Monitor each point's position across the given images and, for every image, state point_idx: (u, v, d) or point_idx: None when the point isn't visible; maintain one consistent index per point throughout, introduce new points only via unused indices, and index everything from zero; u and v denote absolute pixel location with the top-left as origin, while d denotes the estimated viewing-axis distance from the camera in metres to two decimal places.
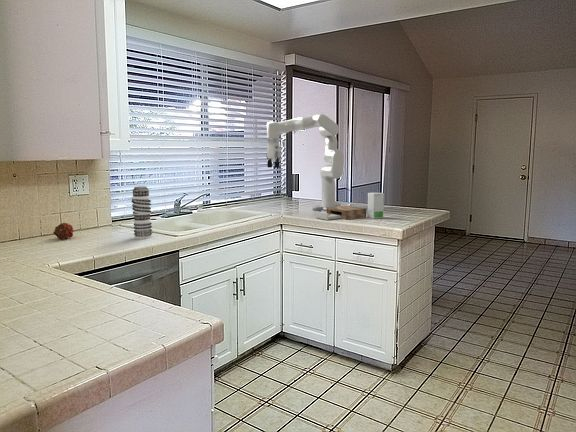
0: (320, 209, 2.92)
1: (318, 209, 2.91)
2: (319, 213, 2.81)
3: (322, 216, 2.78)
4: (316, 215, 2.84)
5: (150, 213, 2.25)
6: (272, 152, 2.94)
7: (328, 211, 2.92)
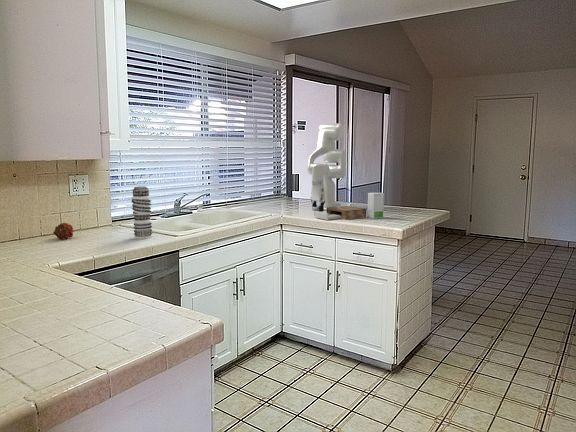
0: None
1: (318, 209, 2.91)
2: (319, 213, 2.81)
3: (322, 216, 2.78)
4: (316, 215, 2.84)
5: (150, 213, 2.25)
6: (317, 195, 2.90)
7: (328, 211, 2.92)
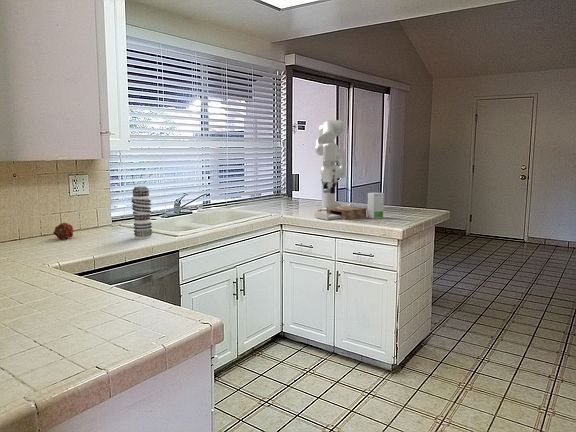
0: None
1: (329, 190, 2.77)
2: (319, 213, 2.81)
3: (322, 216, 2.78)
4: (316, 215, 2.84)
5: (150, 213, 2.25)
6: (329, 176, 2.75)
7: (328, 211, 2.92)
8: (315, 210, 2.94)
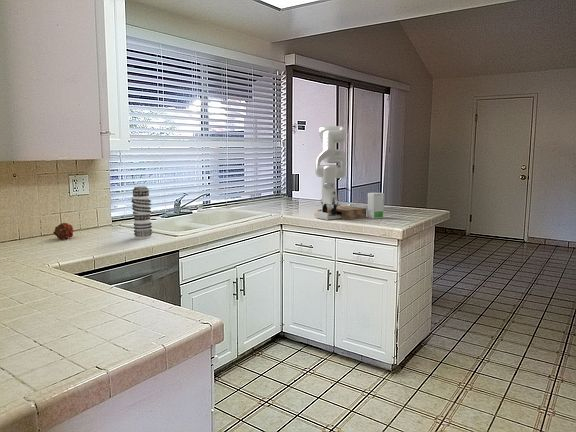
0: (332, 215, 2.80)
1: (329, 215, 2.79)
2: (319, 213, 2.81)
3: (322, 216, 2.78)
4: (316, 215, 2.84)
5: (150, 213, 2.25)
6: (329, 198, 2.77)
7: (328, 211, 2.92)
8: (315, 210, 2.94)
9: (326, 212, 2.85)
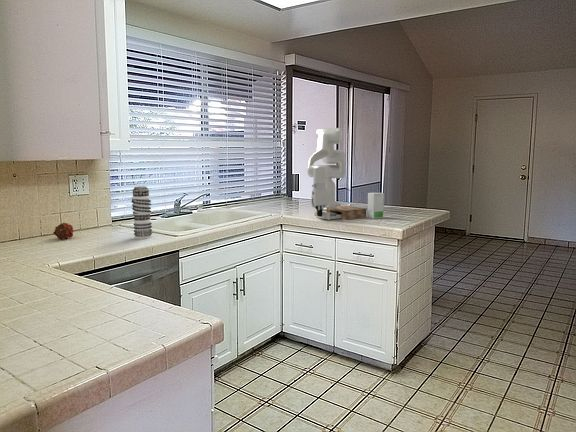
0: (333, 215, 2.80)
1: (331, 215, 2.80)
2: None
3: (324, 216, 2.79)
4: None
5: (150, 213, 2.25)
6: None
7: (328, 211, 2.92)
8: (315, 210, 2.94)
9: (327, 212, 2.86)
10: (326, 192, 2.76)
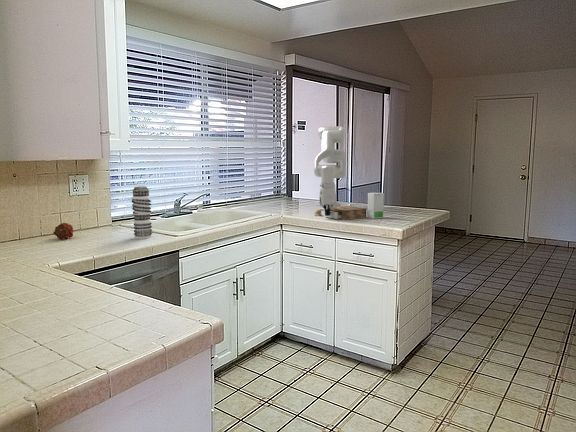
0: (341, 214, 2.83)
1: (338, 214, 2.83)
2: None
3: (331, 215, 2.82)
4: None
5: (150, 213, 2.25)
6: None
7: None
8: (315, 210, 2.94)
9: None
10: (334, 191, 2.79)
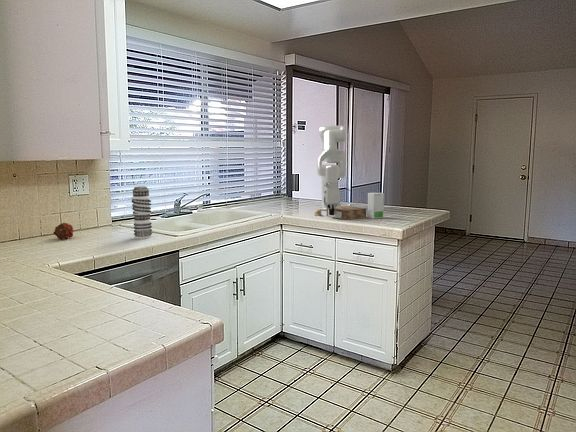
0: None
1: None
2: None
3: (335, 215, 2.83)
4: None
5: (150, 213, 2.25)
6: None
7: None
8: (315, 210, 2.94)
9: None
10: (338, 191, 2.81)
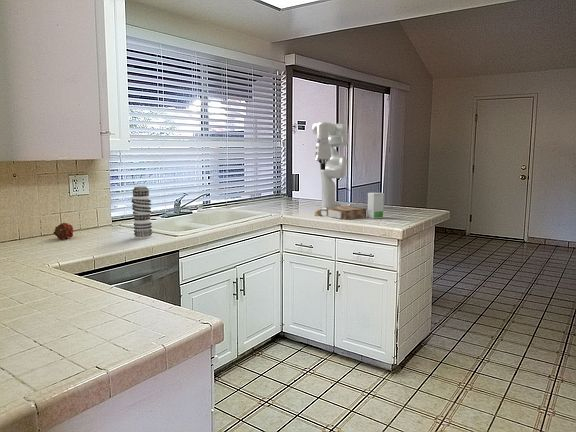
0: None
1: None
2: (332, 212, 2.86)
3: (335, 215, 2.83)
4: (329, 214, 2.89)
5: (150, 213, 2.25)
6: None
7: None
8: (315, 210, 2.94)
9: None
10: (329, 147, 2.98)
